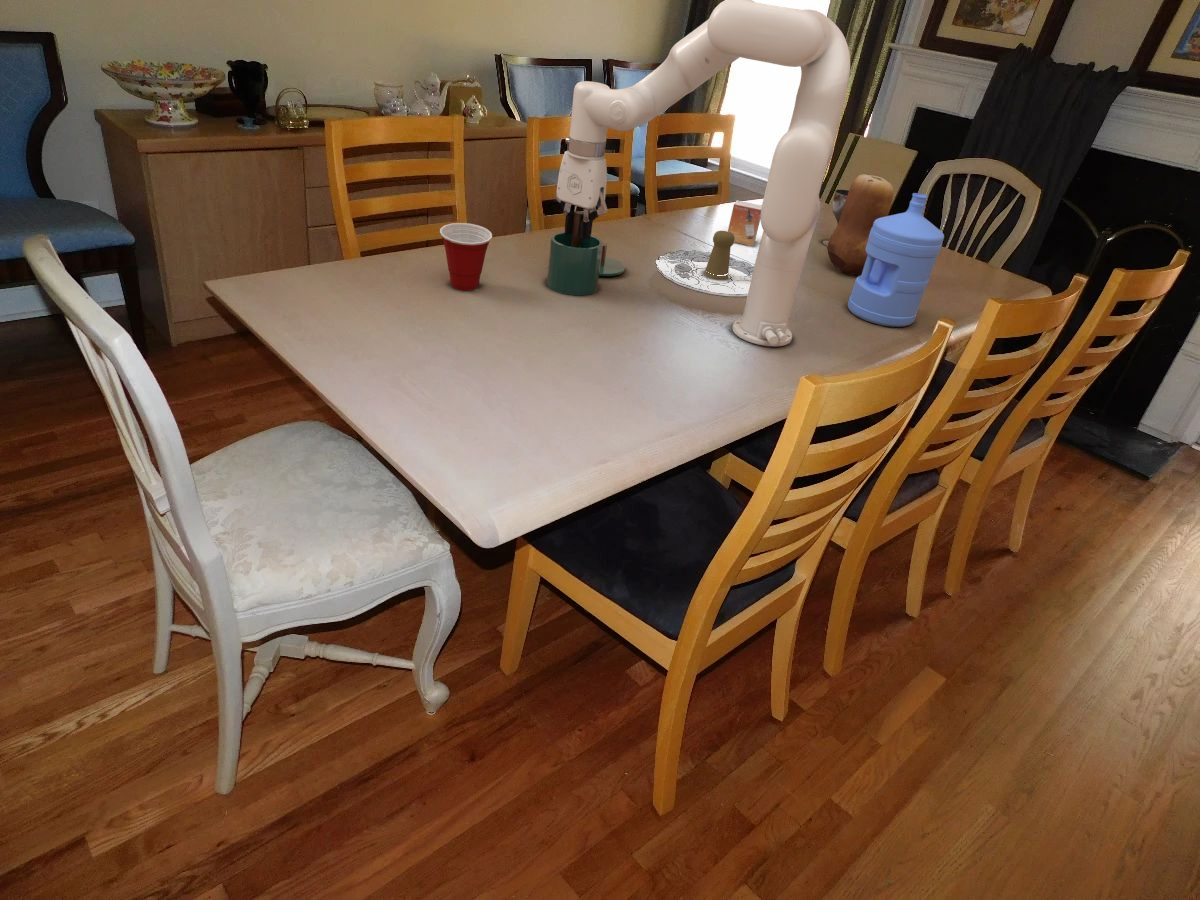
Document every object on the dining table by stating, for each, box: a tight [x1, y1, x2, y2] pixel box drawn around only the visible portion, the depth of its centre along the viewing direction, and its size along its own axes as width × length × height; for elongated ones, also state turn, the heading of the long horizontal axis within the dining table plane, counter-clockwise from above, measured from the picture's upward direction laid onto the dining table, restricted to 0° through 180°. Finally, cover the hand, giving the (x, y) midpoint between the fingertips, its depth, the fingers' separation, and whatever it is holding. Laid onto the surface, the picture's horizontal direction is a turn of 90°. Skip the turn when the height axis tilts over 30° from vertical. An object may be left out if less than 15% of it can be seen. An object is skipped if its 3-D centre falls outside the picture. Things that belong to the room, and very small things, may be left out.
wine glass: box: [822, 189, 850, 246], centre depth 224 cm, size 8×8×15 cm
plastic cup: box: [439, 222, 493, 291], centre depth 162 cm, size 11×11×12 cm
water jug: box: [847, 192, 945, 328], centre depth 174 cm, size 16×16×28 cm
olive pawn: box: [703, 230, 735, 281], centre depth 188 cm, size 6×6×11 cm
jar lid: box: [599, 242, 626, 277], centre depth 183 cm, size 12×12×6 cm
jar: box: [546, 231, 604, 296], centre depth 171 cm, size 11×11×10 cm
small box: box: [727, 199, 762, 247], centre depth 216 cm, size 8×6×10 cm
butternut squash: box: [826, 173, 895, 276], centre depth 201 cm, size 14×13×25 cm
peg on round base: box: [571, 210, 584, 248], centre depth 169 cm, size 4×4×16 cm
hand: (577, 235), depth 167 cm, fingers open, 3 cm apart
